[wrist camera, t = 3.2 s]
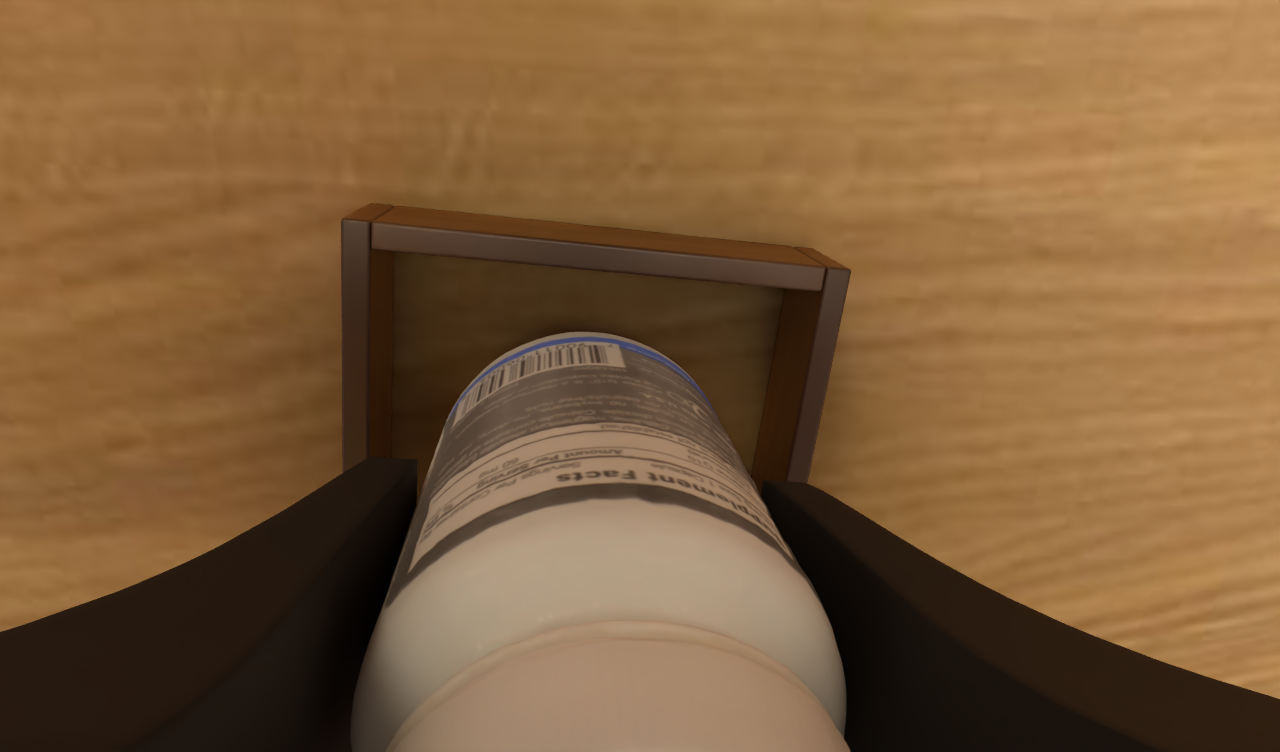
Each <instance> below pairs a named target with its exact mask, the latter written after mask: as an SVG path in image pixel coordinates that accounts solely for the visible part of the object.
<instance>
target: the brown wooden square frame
mask: <svg viewBox="0 0 1280 752" xmlns="http://www.w3.org/2000/svg"><path fill="white" fill-rule="evenodd" d="M394 252H404V253H414V254H425V255H435V256H446V257H457V258H467V259H478V260H488V261H499V262H509V263H520V264H530V265H541V266H551V267H562V268H572V269H583V270H593V271H604V272H614V273H625V274H635V275H646V276H657V277H667V278H678V279H688V280H699V281H709V282H720V283H730V284H741V285H751V286H762V287H772V288H783V289H785V294H784V300H783V305H782V311H781V316H780V322H779V327H778V333H777V338H776V344H775V349H774V355H773V361H772V366H771V372H770V377H769V383H768V388H767V394H766V399H765V405H764V410H763V416H762V421H761V427H760V432H759V438H758V443H757V449H756V455H755V460H754V466H753V471H752V477H751V478H752V480H753V481H754V483H755V486H756V488H757V491H758V493H759V495H760V496H761V491H762V485H763V480H769V481H785V482H802V483H807V482H808V477H809V472H810V467H811V462H812V457H813V453H814V448H815V443H816V438H817V433H818V429H819V424H820V419H821V414H822V409H823V404H824V400H825V395H826V390H827V385H828V380H829V375H830V371H831V366H832V361H833V356H834V351H835V346H836V342H837V337H838V332H839V327H840V322H841V317H842V313H843V308H844V303H845V298H846V293H847V288H848V284H849V279H850V274H851V270H850V269H849V268H847V267H845V266H843V265H841V264H840V263H838V262H836V261H834V260H832V259H831V258H829V257H827V256H825V255H823V254H821V253H820V252H818V251H816V250H814V249H811V248H801V247H794V248H792V247H791V246H782V245H772V244H762V243H753V242H743V241H733V240H724V239H714V238H704V237H695V236H685V235H675V234H665V233H656V232H646V231H636V230H627V229H617V228H607V227H598V226H588V225H578V224H568V223H559V222H549V221H539V220H530V219H520V218H510V217H501V216H491V215H481V214H471V213H462V212H452V211H442V210H433V209H423V208H413V207H404V206H396V207H394V206H392V205H384V204H374V203H371V204H369V205H367V206H365V207H363V208H361V209H359V210H357V211H356V212H354V213H352V214H350V215H348V216H346V217H345V218H343V219H342V220H341V297H342V454H343V473H344V472H345V471H347V470H349V469H350V468H352V467H353V466H355V465H356V464H358V463H360V462H362V461H363V460H365V459H367V458H369V457H385V458H391V409H392V345H393V281H394Z"/></svg>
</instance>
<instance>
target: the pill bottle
mask: <svg viewBox="0 0 1280 752" xmlns="http://www.w3.org/2000/svg"><path fill="white" fill-rule="evenodd" d="M845 723H846V682H845V676H844V670H843V664H842V661H841V657H840V654H839V650H838V647H837V643H836V640H835V636H834V633H833V629H832V626H831V624H830V622H829V619H828V617H827V614H826V612H825V610H824V608H823V605H822V603H821V601H820V599H819V597H818V595H817V593H816V591H815V589H814V587H813V585H812V583H811V581H810V580H809V578H808V577H807V575H806V574H805V573H804V571H803V570H802V569H801V567H800V566H799V564H798V562H797V560H796V558H795V556H794V555H793V553H792V551H791V549H790V547H789V545H788V544H787V543H786V542H785V541H784V539H783V538H782V536H781V534H780V532H779V530H778V528H777V527H776V525H775V524H774V522H773V520H772V518H771V516H770V513H769V511H768V508H767V506H766V504H765V503H764V501H763V500H762V498H761V497H760V495H759V493H758V491H757V488H756V486H755V483H754V481H753V480H752V478H751V477H750V475H749V474H748V472H747V470H746V468H745V466H744V465H743V462H742V460H741V458H740V456H739V454H738V453H737V451H736V450H735V448H734V446H733V444H732V442H731V440H730V438H729V436H728V434H727V432H726V430H725V429H724V428H723V426H722V424H721V423H720V421H719V419H718V417H717V415H716V413H715V411H714V409H713V408H712V406H711V404H710V402H709V401H708V399H707V398H706V396H705V395H704V393H703V392H702V391H701V389H700V388H699V386H698V385H697V383H696V382H695V381H694V380H693V379H692V378H691V377H690V376H689V374H688V373H687V372H686V371H685V370H683V369H682V368H681V367H680V366H679V365H678V364H676V363H675V362H674V361H672V360H671V359H670V358H668V357H667V356H665V355H663V354H662V353H660V352H658V351H656V350H655V349H653V348H651V347H649V346H646V345H644V344H642V343H639V342H637V341H634V340H631V339H627V338H624V337H620V336H616V335H612V334H606V333H598V332H567V333H561V334H556V335H551V336H547V337H543V338H540V339H537V340H534V341H531V342H528V343H526V344H523V345H521V346H519V347H517V348H515V349H513V350H511V351H509V352H507V353H505V354H503V355H502V356H500V357H499V358H497V359H496V360H495V361H493V362H492V363H491V364H489V365H488V366H487V367H486V368H484V369H483V370H482V371H481V372H480V373H479V374H478V375H477V376H476V378H475V379H474V380H473V381H472V382H471V383H470V384H469V385H468V387H467V388H466V389H465V390H464V391H463V393H462V394H461V396H460V397H459V399H458V400H457V402H456V403H455V405H454V407H453V409H452V411H451V412H450V414H449V416H448V419H447V421H446V423H445V426H444V428H443V430H442V434H441V437H440V440H439V442H438V445H437V448H436V450H435V454H434V457H433V460H432V463H431V465H430V468H429V470H428V473H427V476H426V478H425V481H424V484H423V486H422V489H421V493H420V495H419V498H418V502H417V505H416V507H415V509H414V513H413V516H412V519H411V521H410V524H409V528H408V530H407V533H406V536H405V539H404V543H403V546H402V549H401V551H400V554H399V557H398V560H397V563H396V566H395V569H394V571H393V574H392V577H391V581H390V586H389V589H388V592H387V595H386V598H385V600H384V603H383V606H382V608H381V611H380V614H379V617H378V619H377V622H376V625H375V627H374V630H373V633H372V636H371V638H370V641H369V644H368V647H367V650H366V653H365V656H364V659H363V662H362V666H361V670H360V673H359V677H358V681H357V684H356V688H355V692H354V698H353V706H352V714H351V733H350V738H351V747H352V752H851V751H850V749H849V747H848V745H847V743H846V742H845V740H844V733H845Z"/></svg>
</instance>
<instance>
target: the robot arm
mask: <svg viewBox="0 0 1280 752" xmlns="http://www.w3.org/2000/svg"><path fill="white" fill-rule="evenodd" d="M417 465H418V459H401V458H385V457H369V458H367V459H365V460H363V461H362V462H360V463H358V464H356V465H355V466H353V467H352V468H350V469H349V470H347V471H345V472H344V473H342V474H341V475H339V476H338V477H336V478H335V479H333V480H331V481H330V482H328V483H327V484H325V485H324V486H322V487H320V488H319V489H317V490H316V491H314V492H312V493H311V494H309V495H308V496H306V497H304V498H303V499H301V500H300V501H298V502H296V503H295V504H293V505H292V506H290V507H288V508H287V509H285V510H284V511H282V512H280V513H278V514H277V515H275V516H273V517H271V518H269V519H268V520H266V521H264V522H262V523H260V524H259V525H257V526H255V527H253V528H251V529H250V530H248V531H246V532H244V533H242V534H240V535H239V536H237V537H235V538H233V539H231V540H230V541H228V542H226V543H224V544H222V545H221V546H219V547H217V548H215V549H213V550H211V551H209V552H207V553H205V554H203V555H201V556H198V557H196V558H194V559H192V560H190V561H188V562H186V563H184V564H182V565H179V566H177V567H175V568H172V569H170V570H168V571H165V572H163V573H161V574H159V575H156V576H154V577H152V578H149V579H147V580H145V581H142V582H140V583H138V584H135V585H133V586H130V587H128V588H125V589H123V590H120V591H118V592H115V593H112V594H109V595H107V596H104V597H101V598H98V599H95V600H92V601H90V602H87V603H84V604H81V605H78V606H76V607H73V608H70V609H67V610H64V611H62V612H59V613H56V614H53V615H50V616H47V617H45V618H42V619H39V620H36V621H33V622H31V623H28V624H25V625H22V626H18V627H15V628H12V629H9V630H6V631H2V632H0V752H352V747H351V738H350V733H351V714H352V706H353V698H354V692H355V688H356V684H357V681H358V677H359V673H360V670H361V666H362V662H363V659H364V656H365V653H366V650H367V647H368V644H369V641H370V638H371V636H372V633H373V630H374V627H375V625H376V622H377V619H378V617H379V614H380V611H381V608H382V606H383V603H384V600H385V598H386V595H387V592H388V589H389V586H390V581H391V577H392V574H393V571H394V569H395V566H396V563H397V560H398V557H399V554H400V551H401V549H402V546H403V543H404V539H405V536H406V533H407V530H408V528H409V524H410V521H411V519H412V516H413V513H414V509H415V507H416V501H417ZM760 497H761V498H762V500H763V501H764V503H765V504H766V506H767V508H768V511H769V513H770V516H771V518H772V520H773V522H774V524H775V525H776V527H777V528H778V530H779V532H780V534H781V536H782V538H783V539H784V541H785V542H786V543H787V544H788V545H789V547H790V549H791V551H792V553H793V555H794V556H795V558H796V560H797V562H798V564H799V566H800V567H801V569H802V570H803V571H804V573H805V574H806V575H807V577H808V578H809V580H810V581H811V583H812V585H813V587H814V589H815V591H816V593H817V595H818V597H819V599H820V601H821V603H822V605H823V608H824V610H825V612H826V614H827V617H828V619H829V622H830V624H831V626H832V629H833V633H834V636H835V640H836V643H837V647H838V650H839V654H840V657H841V661H842V664H843V670H844V676H845V682H846V723H845V733H844V740H845V742H846V743H847V745H848V747H849V749H850V751H851V752H1280V699H1277V698H1274V697H1271V696H1268V695H1264V694H1261V693H1258V692H1254V691H1251V690H1248V689H1245V688H1241V687H1238V686H1235V685H1232V684H1228V683H1225V682H1222V681H1219V680H1215V679H1212V678H1209V677H1206V676H1203V675H1200V674H1197V673H1194V672H1191V671H1188V670H1185V669H1182V668H1179V667H1176V666H1173V665H1170V664H1167V663H1164V662H1161V661H1159V660H1156V659H1153V658H1150V657H1148V656H1145V655H1143V654H1140V653H1137V652H1135V651H1132V650H1129V649H1127V648H1124V647H1121V646H1119V645H1116V644H1114V643H1111V642H1108V641H1106V640H1103V639H1100V638H1098V637H1095V636H1093V635H1090V634H1088V633H1086V632H1083V631H1081V630H1078V629H1076V628H1073V627H1071V626H1069V625H1066V624H1064V623H1062V622H1059V621H1057V620H1055V619H1053V618H1051V617H1049V616H1046V615H1044V614H1042V613H1040V612H1038V611H1036V610H1033V609H1031V608H1029V607H1027V606H1025V605H1023V604H1020V603H1018V602H1016V601H1014V600H1012V599H1010V598H1007V597H1005V596H1003V595H1001V594H1000V593H998V592H996V591H994V590H992V589H990V588H988V587H986V586H984V585H982V584H980V583H978V582H976V581H974V580H973V579H971V578H969V577H967V576H965V575H964V574H962V573H960V572H958V571H956V570H954V569H953V568H951V567H949V566H947V565H945V564H943V563H942V562H940V561H938V560H936V559H935V558H933V557H931V556H930V555H928V554H926V553H924V552H923V551H921V550H919V549H918V548H916V547H914V546H913V545H911V544H909V543H908V542H906V541H904V540H903V539H901V538H899V537H898V536H896V535H895V534H893V533H891V532H890V531H888V530H886V529H885V528H883V527H882V526H880V525H878V524H877V523H875V522H874V521H872V520H870V519H869V518H867V517H865V516H864V515H862V514H861V513H859V512H857V511H856V510H854V509H853V508H851V507H849V506H848V505H846V504H844V503H843V502H841V501H839V500H838V499H836V498H834V497H833V496H831V495H829V494H827V493H825V492H824V491H822V490H820V489H818V488H816V487H814V486H811V485H809V484H807V483H802V482H785V481H769V480H763V485H762V491H761V496H760Z"/></svg>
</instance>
